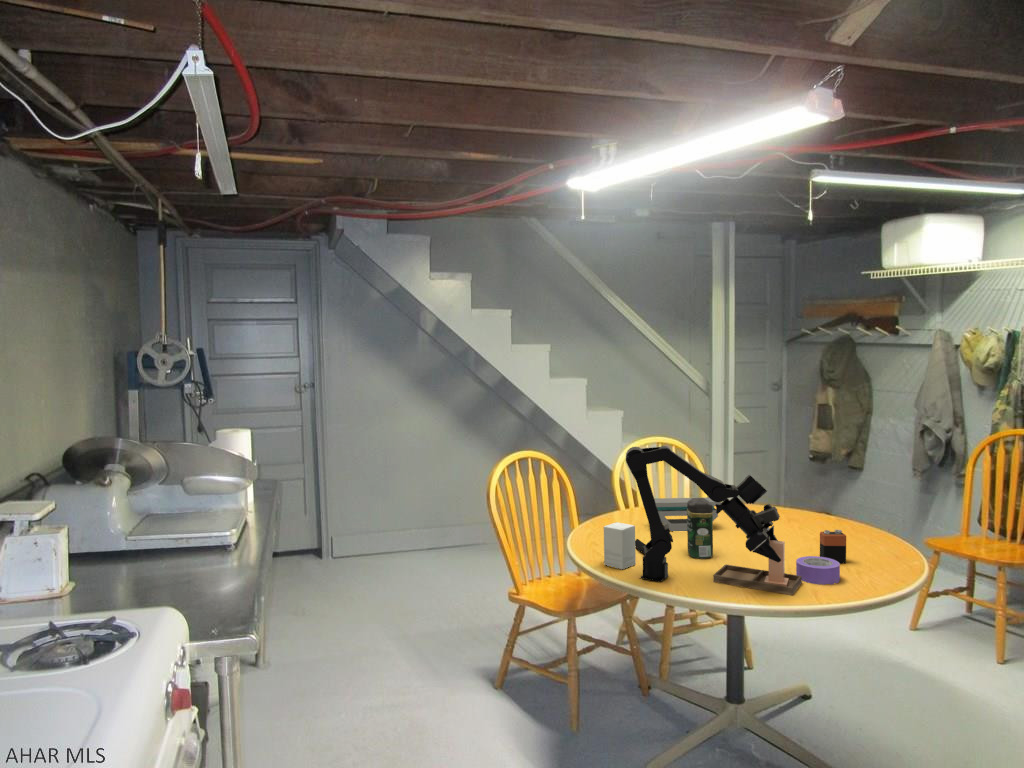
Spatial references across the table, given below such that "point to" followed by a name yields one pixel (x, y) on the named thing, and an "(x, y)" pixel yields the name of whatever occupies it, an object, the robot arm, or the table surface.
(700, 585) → the table surface
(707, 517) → the coffee jar
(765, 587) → the divided tray
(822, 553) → the battery
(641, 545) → the electric trimmer
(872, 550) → the table surface
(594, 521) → the table surface
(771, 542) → the pink post on base
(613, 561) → the supplement box
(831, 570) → the tape roll
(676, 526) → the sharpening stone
